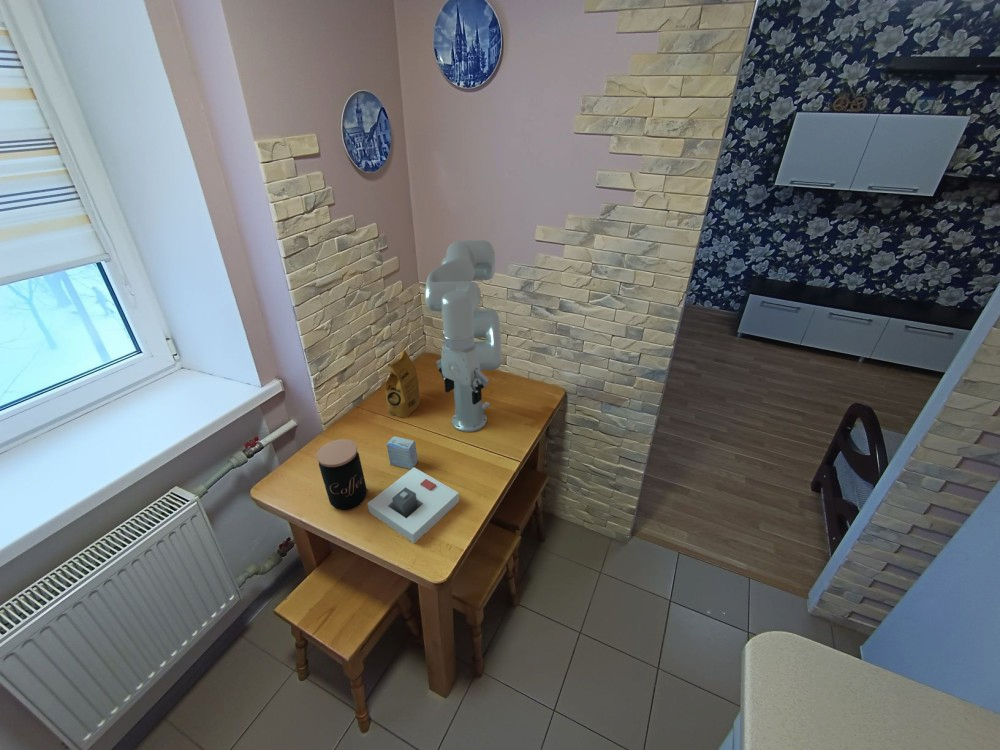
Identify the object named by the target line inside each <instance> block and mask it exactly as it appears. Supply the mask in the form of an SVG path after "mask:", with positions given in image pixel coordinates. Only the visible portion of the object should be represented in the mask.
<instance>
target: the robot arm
mask: <svg viewBox="0 0 1000 750" xmlns="http://www.w3.org/2000/svg"><path fill="white" fill-rule="evenodd" d="M445 253H446V254H445V257H443V258H442V260H441V263H440V265H439V266H438V267H436V268H434V269H433V270H431V272H430V273H429V274H428V275H427V278H426V284H425V289H424V302H425V305H426V307H427V308H428V310H430V311H431V312H441V314H442V325H443V332H442V336H443V337H444V342H443V343H442V347H441V356H440V357H441V358H440V359H438V360H436V361H435V364H436V365H437V368H438V372H439V373H440V375H441V378H442V380H443V381H444V392H445V393H450V392H451V391H453V398H454V411H455V413H454V414H453V415H452V418H451V424H452V426H453V428H455V429H456V430H457V431H460V432H465V433H470V432H471V433H472V432H473V433H474V432H476V431H479V430H481V429H483V428H484V427H485V425H487V421H488V420H487V419H488V417H487V415H486V414H485V413H484V412H485V411H486V409H487V408H489V407H490V406H491V405H490V403H489V402H488V401H485V402H484V403H483V399H482V397H483V396H482V395H483V394H482V390H483V389H484V388H486V387H487V386H488V383H489V382H490V379H489V377H487V376H486V374H484V373H483V372H482V371H493V370H497V369H499V368H500V367H501V365H502V360H503V359H502V358H503V357H502V356H503V355H502V337H501V335H502V333H501V319H500V316H499V314H498V312H497V311H496V310H495V309H493V308H492V309H491V308H485V309H484V308H479V309H478V306H479V304H480V303H481V301H482V290H481V288H480V287H479V284H478V283H476V282H475V281H490V280H491V279H493V277H494V275H495V271H496V252H495V249H494V246H493V245H492V243H491V242H490V241H488V240H485V239H484V240H483V239H482V240H481V239H478V240H457V241H454V242H452V243H451V244H450V245H449V246H448V247H447V250H446V252H445ZM475 339H486V340H485V341H484V340H482V341H475Z"/></svg>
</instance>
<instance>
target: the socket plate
mask: <svg viewBox="0 0 1000 750" xmlns="http://www.w3.org/2000/svg"><path fill="white" fill-rule="evenodd" d="M405 487H406V488H408V489H409V490H411V491H413V492H414V493H416V499H417V505H418V509H417V510H416V511H414V512H413V513H412V514H411V515H410V516H409V517H408V518H405V517H403V516H402V515H400V514H399V513H397V512H396V511H394V506H393V500H392V498H393V497H394V496H395V495H397V494H398V493H399V492H400V491H402V490H403V489H404V488H405ZM459 495H460V494H459V492H458V491H456V490H454V489H453V488H451V487H449V486H447V485H446V484H444V483H442V482H440V481H439V480H437V479H435V478H433V477H432V476H430V475H428V474H427V473H425V472H423V471H421V470H420V469H418V468H416V467H413V468H412V469H409V470H408V471H407V472H406V473H405V474H403V475H402V476H401V477H400V478H398V479H397V480H395V481H394V482H393V483H391V485H389V486H388V487H387V488H385V489H384V490H383V491H381V492H380V493H379V494H377V495H376V496H375V497H373V498H372V499H371V500H370V501H368V502H367V503H366V504H367V509H368V512H369V513H370V514H371V515H372V516H374V517H376V518H377V519H378V520H380V521H381V522H383V523H384V524H385V525H387V526H388V527H390V528H391V529H393V530H394V531H395V532H397V533H399V534H400V535H401V536H403V537H404V538H406V539H407V540H408V541H410V542H411V543H413V544H415V543H417V542H418V541H419V540H420V539H421V538H422V537H423V536H425V534H426V533H427V532H429V531H430V529H432V528H433V527H434V526H435V525H436V524H437V523H438V522H439V521H440V520H441V519H442V518H444V516H445V515H446V514H448V513H449V512H450V511H451V510H452V509H453V508H454V507H455V506H456V505H457V504H458V503H460V496H459Z"/></svg>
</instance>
